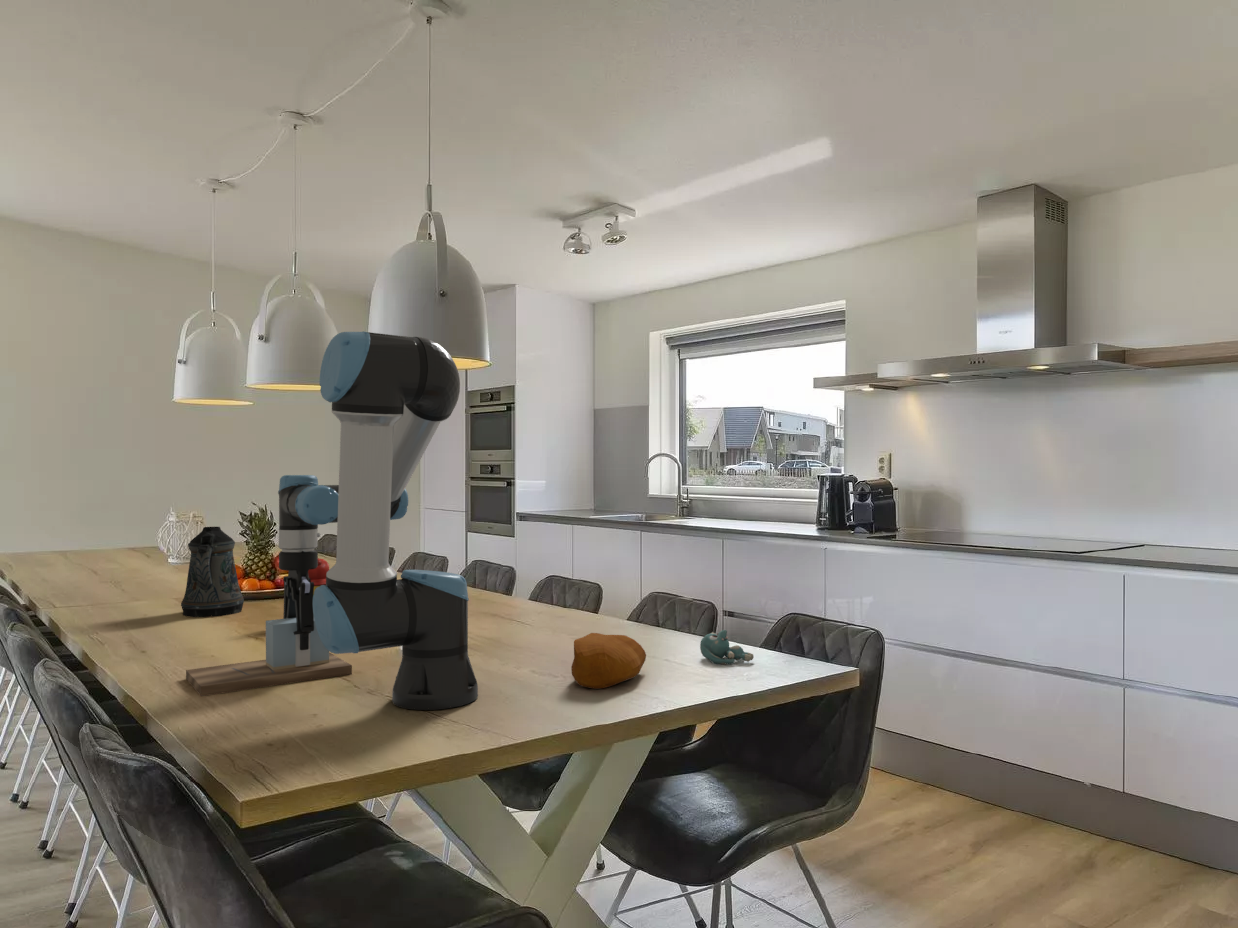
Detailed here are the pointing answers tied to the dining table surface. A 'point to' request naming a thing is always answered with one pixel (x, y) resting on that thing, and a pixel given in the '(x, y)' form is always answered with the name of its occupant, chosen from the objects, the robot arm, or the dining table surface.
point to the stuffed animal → (722, 649)
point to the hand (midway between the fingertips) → (298, 661)
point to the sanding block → (290, 645)
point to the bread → (606, 660)
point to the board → (259, 675)
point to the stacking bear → (319, 573)
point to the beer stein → (212, 576)
